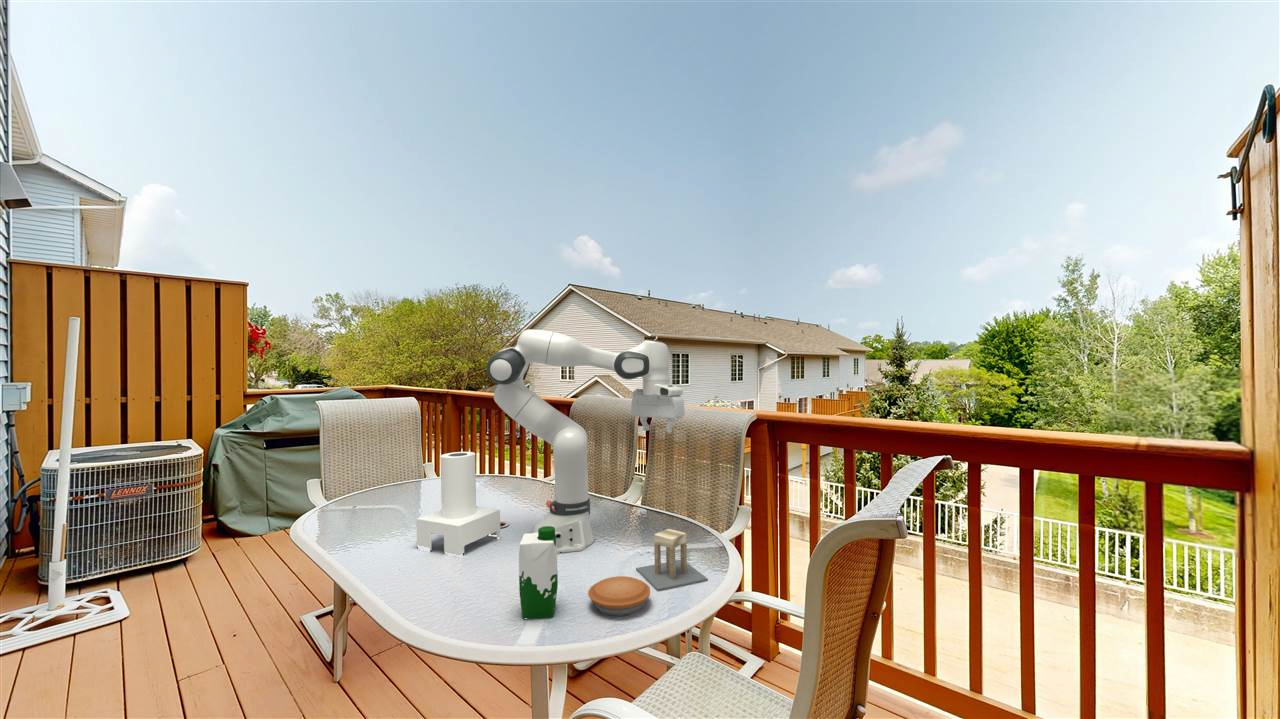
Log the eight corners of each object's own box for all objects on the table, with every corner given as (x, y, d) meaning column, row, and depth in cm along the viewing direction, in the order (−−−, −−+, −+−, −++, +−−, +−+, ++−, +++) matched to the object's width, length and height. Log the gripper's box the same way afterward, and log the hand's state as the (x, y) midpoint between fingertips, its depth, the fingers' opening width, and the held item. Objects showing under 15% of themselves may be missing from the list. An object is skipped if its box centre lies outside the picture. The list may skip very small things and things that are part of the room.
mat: (657, 591, 134) (657, 589, 134) (636, 570, 148) (636, 568, 148) (707, 580, 140) (707, 578, 140) (682, 561, 154) (682, 559, 154)
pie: (600, 626, 117) (599, 604, 117) (580, 598, 131) (580, 578, 131) (661, 612, 123) (660, 591, 123) (636, 586, 137) (636, 568, 137)
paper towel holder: (460, 531, 185) (458, 448, 185) (500, 538, 177) (498, 451, 177) (417, 549, 168) (415, 457, 168) (459, 558, 160) (457, 461, 160)
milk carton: (556, 619, 121) (554, 534, 121) (517, 621, 120) (515, 536, 120) (559, 601, 129) (557, 522, 129) (523, 604, 128) (521, 524, 128)
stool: (673, 580, 139) (672, 539, 139) (654, 573, 143) (654, 534, 143) (686, 572, 144) (686, 533, 144) (669, 566, 148) (668, 528, 148)
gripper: (626, 389, 172) (627, 430, 172) (674, 390, 159) (675, 435, 159) (639, 388, 177) (639, 428, 177) (687, 389, 163) (687, 432, 163)
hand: (657, 431), depth 168 cm, fingers open, 8 cm apart
